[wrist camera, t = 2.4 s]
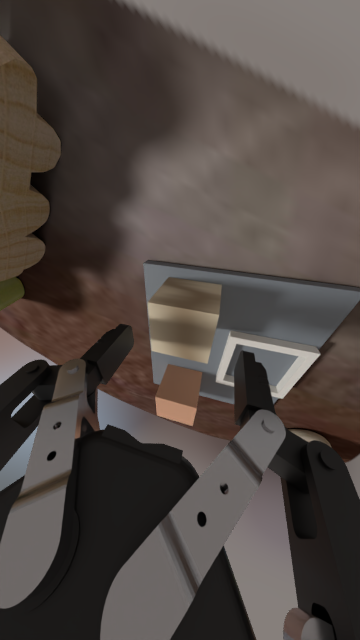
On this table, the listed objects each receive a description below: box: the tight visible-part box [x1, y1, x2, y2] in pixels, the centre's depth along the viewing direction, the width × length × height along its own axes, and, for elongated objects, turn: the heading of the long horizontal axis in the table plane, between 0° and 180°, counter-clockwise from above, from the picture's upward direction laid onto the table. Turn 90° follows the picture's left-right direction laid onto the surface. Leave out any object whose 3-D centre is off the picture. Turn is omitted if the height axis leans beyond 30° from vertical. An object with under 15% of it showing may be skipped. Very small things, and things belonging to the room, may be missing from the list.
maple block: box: [148, 277, 222, 364], centre depth 14 cm, size 5×5×5 cm
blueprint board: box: [143, 260, 360, 404], centre depth 19 cm, size 18×20×2 cm
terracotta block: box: [155, 364, 202, 426], centre depth 22 cm, size 5×5×5 cm
